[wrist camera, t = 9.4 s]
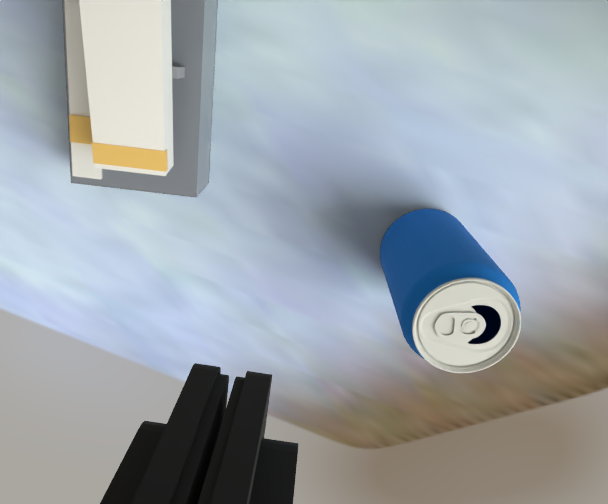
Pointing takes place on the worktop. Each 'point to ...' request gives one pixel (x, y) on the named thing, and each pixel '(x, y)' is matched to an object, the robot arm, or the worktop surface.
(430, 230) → the beverage can
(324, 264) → the worktop surface
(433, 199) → the worktop surface
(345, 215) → the worktop surface
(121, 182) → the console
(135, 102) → the block
